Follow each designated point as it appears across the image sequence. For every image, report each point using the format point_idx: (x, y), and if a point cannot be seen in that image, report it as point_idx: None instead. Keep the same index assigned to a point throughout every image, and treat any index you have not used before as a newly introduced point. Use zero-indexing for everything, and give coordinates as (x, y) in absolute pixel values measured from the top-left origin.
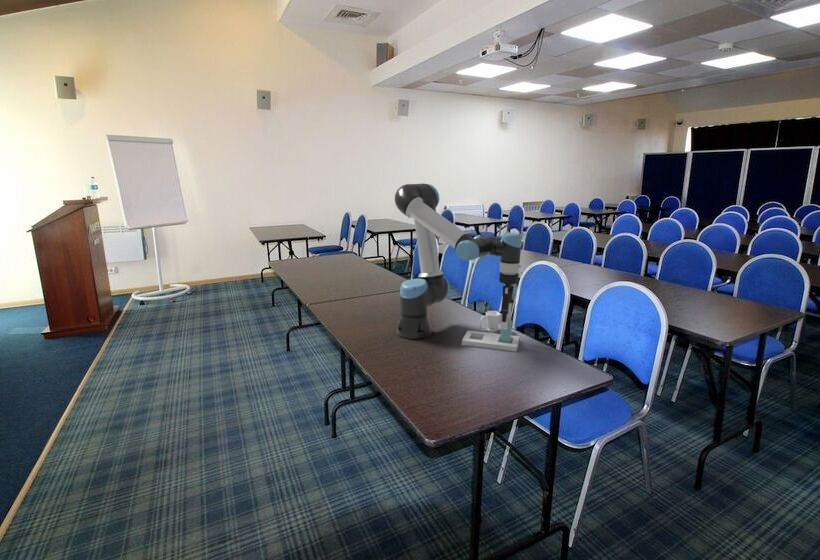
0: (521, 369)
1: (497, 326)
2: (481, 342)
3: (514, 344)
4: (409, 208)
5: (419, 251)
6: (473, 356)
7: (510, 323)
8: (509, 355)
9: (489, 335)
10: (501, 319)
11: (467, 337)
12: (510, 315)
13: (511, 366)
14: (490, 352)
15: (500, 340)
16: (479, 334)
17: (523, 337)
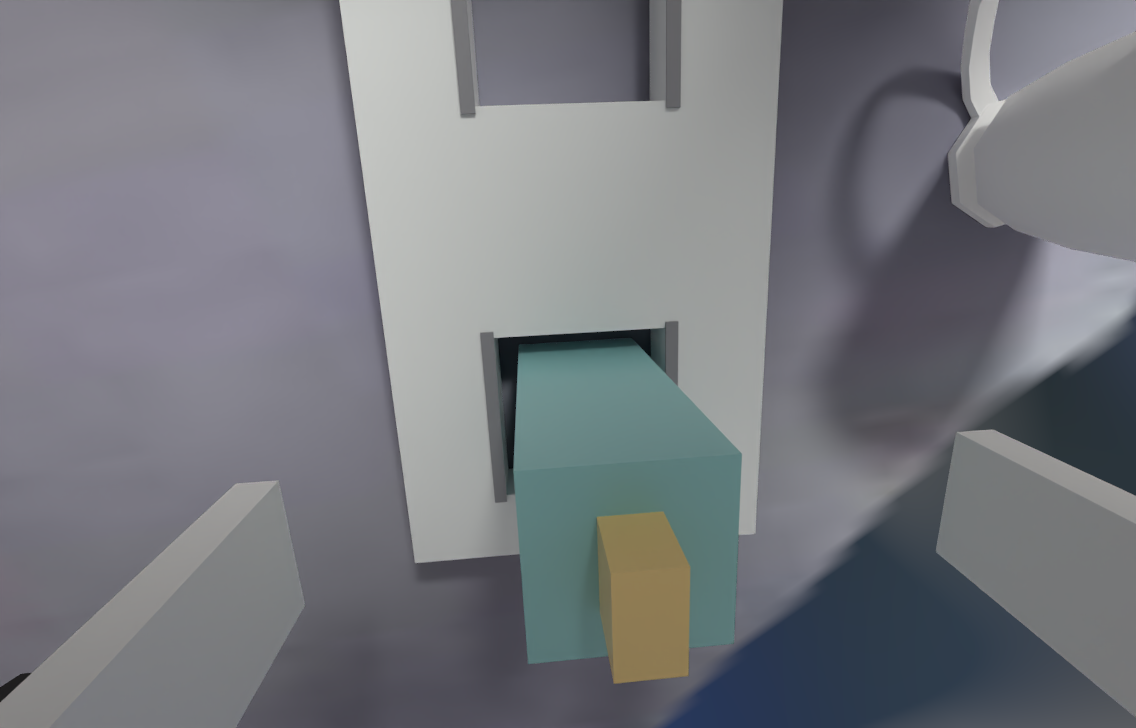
0: (19, 634)
1: (1031, 231)
2: (367, 121)
3: (479, 528)
4: None
5: None
6: (35, 94)
7: (536, 650)
8: (295, 483)
9: (676, 183)
10: (53, 682)
11: None
12: (988, 592)
13: (29, 546)
14: (274, 278)
15: (518, 364)
16: (666, 23)
17: (837, 528)
